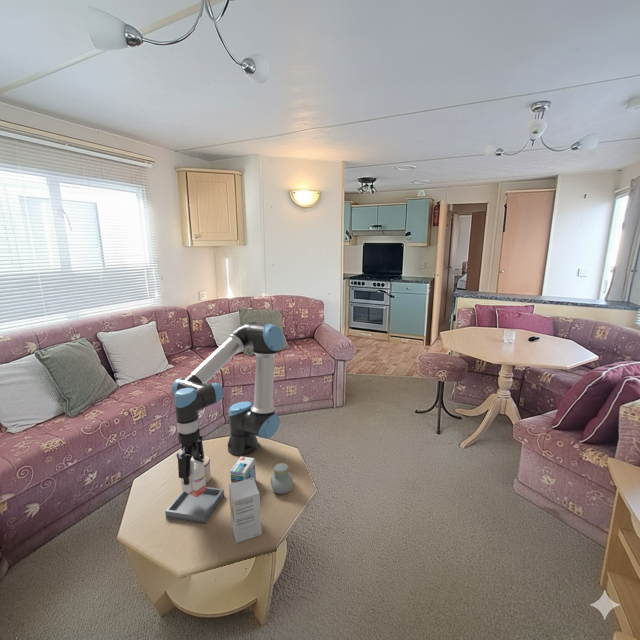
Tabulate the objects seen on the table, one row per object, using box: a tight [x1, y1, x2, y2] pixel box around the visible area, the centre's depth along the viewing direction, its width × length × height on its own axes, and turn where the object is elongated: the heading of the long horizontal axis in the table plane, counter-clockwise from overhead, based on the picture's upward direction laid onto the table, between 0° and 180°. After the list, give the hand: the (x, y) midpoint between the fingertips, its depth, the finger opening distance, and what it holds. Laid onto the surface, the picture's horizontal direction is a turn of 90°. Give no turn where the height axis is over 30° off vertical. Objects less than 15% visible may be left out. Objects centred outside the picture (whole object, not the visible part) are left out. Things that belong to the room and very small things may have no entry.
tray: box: [164, 486, 225, 525], centre depth 133 cm, size 15×16×3 cm
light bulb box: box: [229, 456, 257, 484], centre depth 143 cm, size 11×7×11 cm, turn 168°
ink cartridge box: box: [180, 457, 207, 497], centre depth 131 cm, size 9×5×15 cm, turn 61°
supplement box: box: [228, 478, 263, 544], centre depth 120 cm, size 10×9×17 cm
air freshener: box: [270, 462, 294, 495], centre depth 142 cm, size 11×8×10 cm
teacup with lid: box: [192, 454, 212, 484], centre depth 147 cm, size 12×9×12 cm
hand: (193, 484), depth 132 cm, fingers closed on ink cartridge box, 6 cm apart
